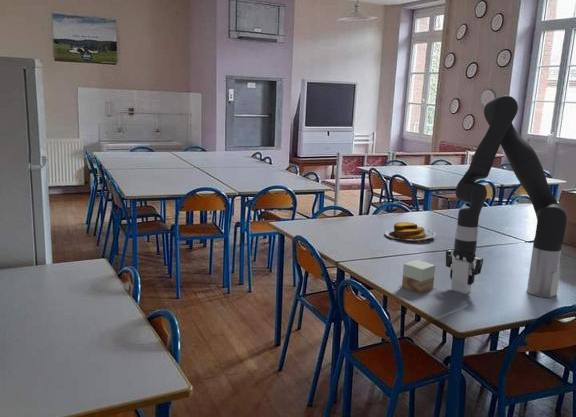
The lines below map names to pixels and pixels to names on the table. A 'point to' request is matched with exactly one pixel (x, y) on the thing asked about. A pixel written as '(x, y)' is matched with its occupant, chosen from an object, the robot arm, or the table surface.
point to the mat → (417, 292)
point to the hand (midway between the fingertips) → (461, 281)
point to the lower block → (417, 284)
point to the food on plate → (409, 232)
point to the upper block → (419, 270)
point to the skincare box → (460, 276)
